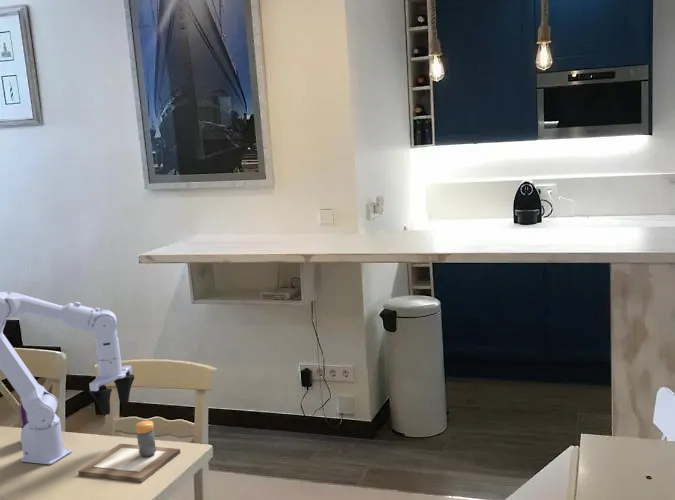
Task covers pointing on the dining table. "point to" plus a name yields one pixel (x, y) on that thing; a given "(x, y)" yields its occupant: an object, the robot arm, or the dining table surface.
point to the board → (128, 463)
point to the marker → (146, 438)
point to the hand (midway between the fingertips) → (115, 408)
